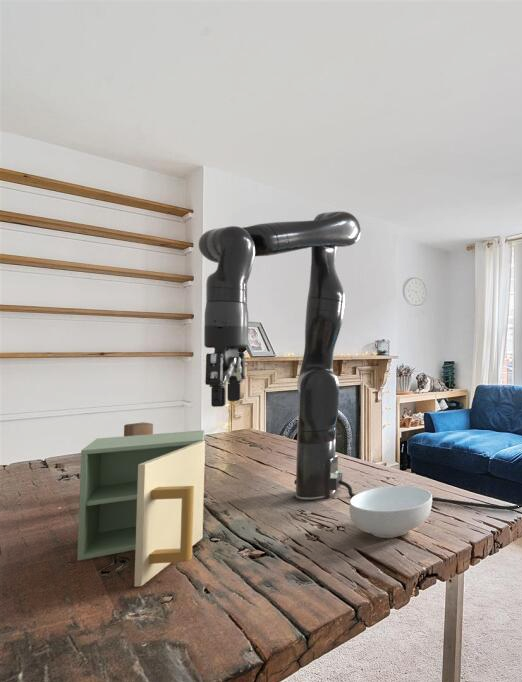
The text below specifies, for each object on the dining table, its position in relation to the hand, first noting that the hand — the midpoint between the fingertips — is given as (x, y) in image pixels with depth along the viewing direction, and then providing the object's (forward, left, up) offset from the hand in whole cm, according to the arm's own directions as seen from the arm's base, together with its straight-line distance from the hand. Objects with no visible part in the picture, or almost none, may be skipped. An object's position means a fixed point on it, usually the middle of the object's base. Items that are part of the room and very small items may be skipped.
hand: (226, 403), depth 88 cm
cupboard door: (0, +10, -27) cm, 29 cm away
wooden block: (+35, -29, -27) cm, 53 cm away
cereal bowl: (-34, -1, -27) cm, 43 cm away
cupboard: (+14, 0, -27) cm, 30 cm away
